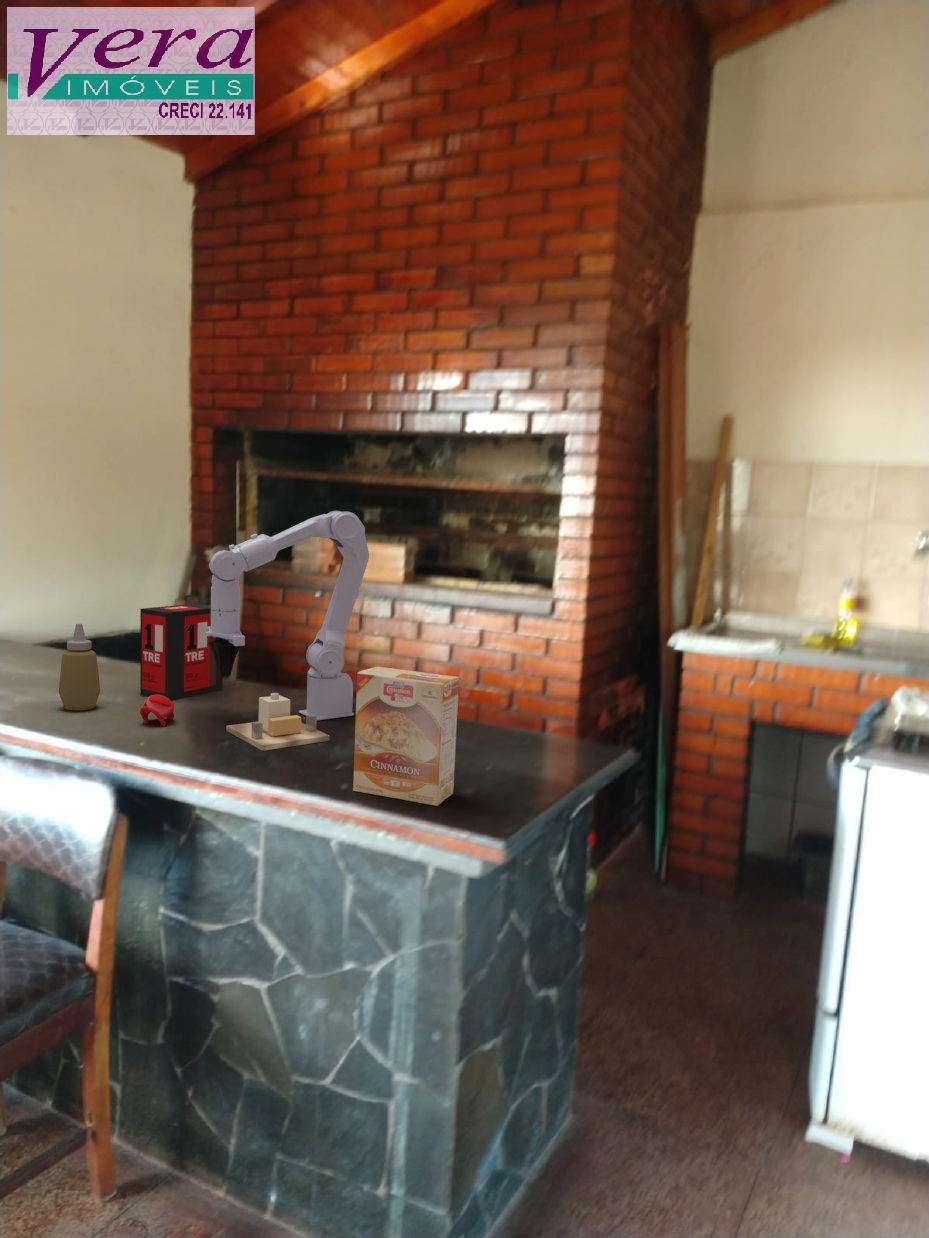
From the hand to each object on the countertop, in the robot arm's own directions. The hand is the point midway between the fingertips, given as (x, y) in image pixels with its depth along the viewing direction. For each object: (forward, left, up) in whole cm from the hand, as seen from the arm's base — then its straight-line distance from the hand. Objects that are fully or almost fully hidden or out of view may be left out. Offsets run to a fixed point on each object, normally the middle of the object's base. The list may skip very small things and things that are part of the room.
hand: (224, 675), depth 175 cm
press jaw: (-4, +19, -8) cm, 21 cm away
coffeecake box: (-6, +56, -10) cm, 57 cm away
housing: (-4, +15, -8) cm, 17 cm away
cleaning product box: (-2, -28, -10) cm, 30 cm away
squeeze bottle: (+22, -23, -10) cm, 33 cm away
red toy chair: (+12, -4, -10) cm, 16 cm away
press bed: (-4, +16, -9) cm, 19 cm away
